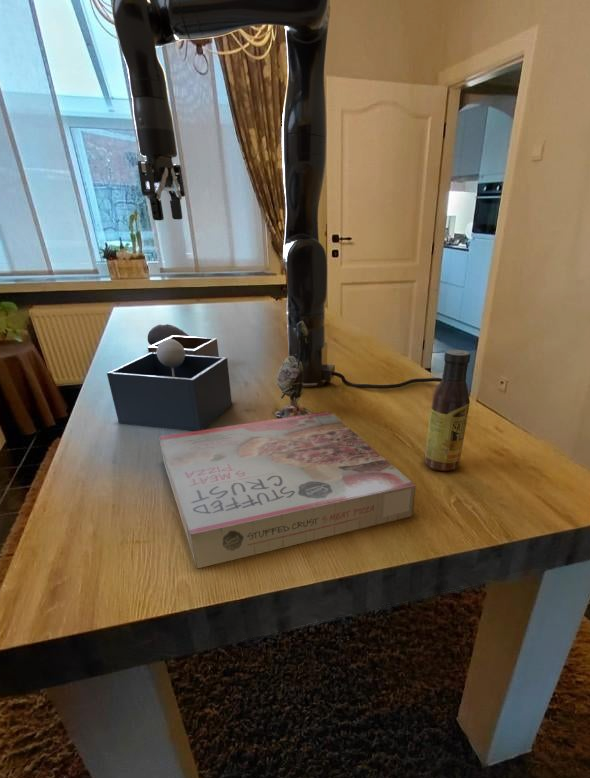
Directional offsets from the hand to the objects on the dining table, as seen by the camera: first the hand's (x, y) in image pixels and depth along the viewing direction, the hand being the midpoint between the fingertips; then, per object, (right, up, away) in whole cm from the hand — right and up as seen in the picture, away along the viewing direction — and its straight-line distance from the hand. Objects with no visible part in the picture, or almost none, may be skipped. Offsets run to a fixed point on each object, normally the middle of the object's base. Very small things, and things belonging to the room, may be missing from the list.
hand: (168, 219), depth 110 cm
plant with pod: (+28, -44, -1) cm, 52 cm away
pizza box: (+28, -62, -29) cm, 74 cm away
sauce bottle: (+57, -57, -21) cm, 83 cm away
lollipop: (+3, -43, -1) cm, 43 cm away
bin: (+3, -43, -1) cm, 44 cm away
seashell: (-15, -12, +49) cm, 53 cm away
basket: (-4, -25, +28) cm, 38 cm away
